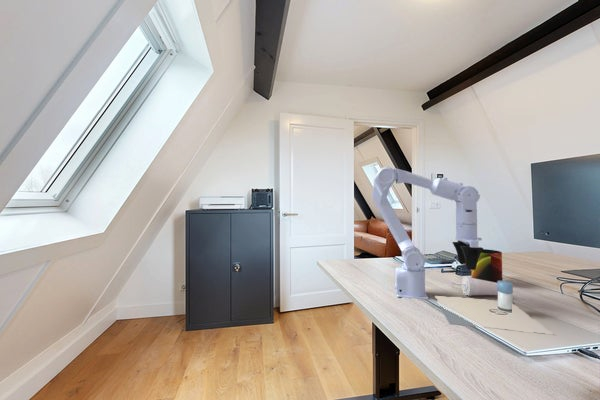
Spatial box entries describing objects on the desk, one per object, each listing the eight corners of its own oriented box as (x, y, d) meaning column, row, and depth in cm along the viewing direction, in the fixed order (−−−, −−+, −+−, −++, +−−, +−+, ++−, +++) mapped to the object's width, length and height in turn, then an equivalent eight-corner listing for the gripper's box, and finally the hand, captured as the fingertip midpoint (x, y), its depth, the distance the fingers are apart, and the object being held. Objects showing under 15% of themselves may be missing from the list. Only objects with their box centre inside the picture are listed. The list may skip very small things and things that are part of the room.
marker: (500, 312, 73) (500, 283, 73) (495, 307, 76) (495, 280, 76) (515, 314, 72) (515, 284, 72) (509, 309, 75) (509, 281, 75)
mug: (492, 277, 108) (492, 247, 108) (507, 287, 95) (506, 254, 95) (465, 275, 111) (465, 246, 111) (475, 285, 98) (475, 253, 98)
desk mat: (449, 325, 67) (449, 324, 67) (432, 295, 88) (432, 294, 88) (556, 336, 61) (556, 335, 61) (510, 301, 82) (510, 300, 82)
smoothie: (506, 288, 82) (456, 284, 84) (500, 303, 85) (452, 299, 87) (496, 274, 87) (450, 270, 90) (490, 289, 90) (446, 284, 93)
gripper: (490, 226, 76) (491, 273, 76) (472, 222, 90) (473, 262, 90) (462, 225, 78) (463, 271, 78) (449, 222, 92) (450, 260, 92)
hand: (467, 266), depth 85 cm, fingers open, 7 cm apart
